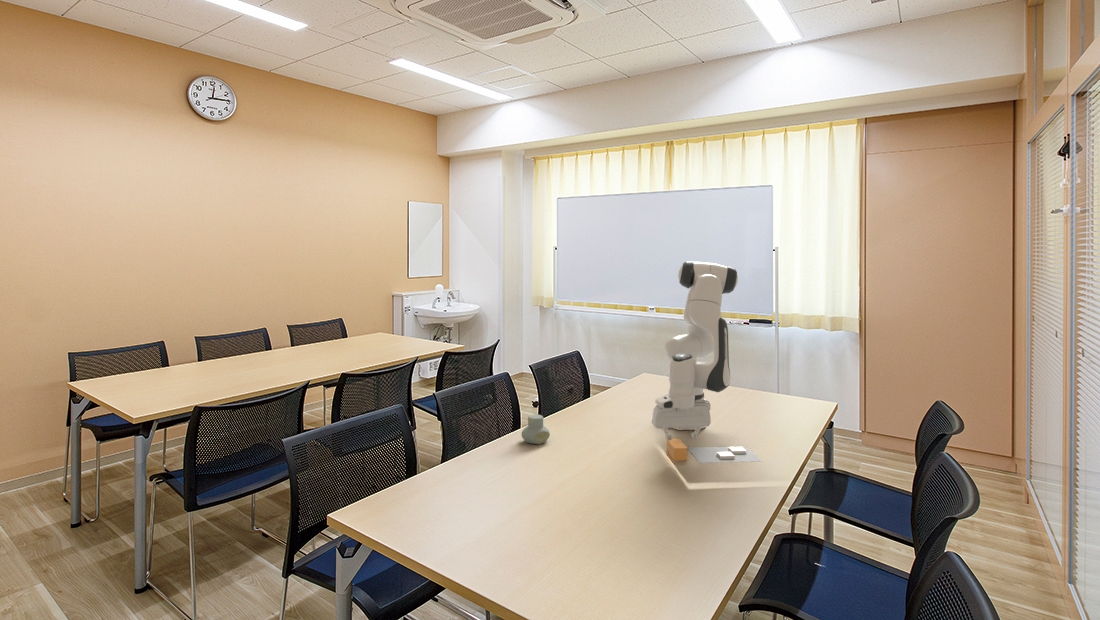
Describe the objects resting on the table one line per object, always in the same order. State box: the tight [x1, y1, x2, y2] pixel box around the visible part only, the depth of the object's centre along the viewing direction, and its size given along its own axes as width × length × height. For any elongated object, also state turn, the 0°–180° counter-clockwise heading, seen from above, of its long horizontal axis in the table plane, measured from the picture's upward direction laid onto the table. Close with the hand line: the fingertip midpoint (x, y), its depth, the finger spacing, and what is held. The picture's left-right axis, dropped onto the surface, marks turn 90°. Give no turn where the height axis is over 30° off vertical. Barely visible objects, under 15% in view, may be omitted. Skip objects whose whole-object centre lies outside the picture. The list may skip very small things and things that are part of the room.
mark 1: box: [717, 452, 735, 459], centre depth 192 cm, size 5×4×1 cm
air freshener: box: [521, 414, 551, 445], centre depth 210 cm, size 11×8×10 cm
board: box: [687, 445, 762, 464], centre depth 194 cm, size 22×14×2 cm, turn 94°
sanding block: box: [666, 438, 688, 466], centre depth 193 cm, size 9×4×6 cm, turn 4°
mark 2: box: [727, 446, 746, 454], centre depth 197 cm, size 5×4×1 cm
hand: (681, 439), depth 191 cm, fingers open, 8 cm apart
